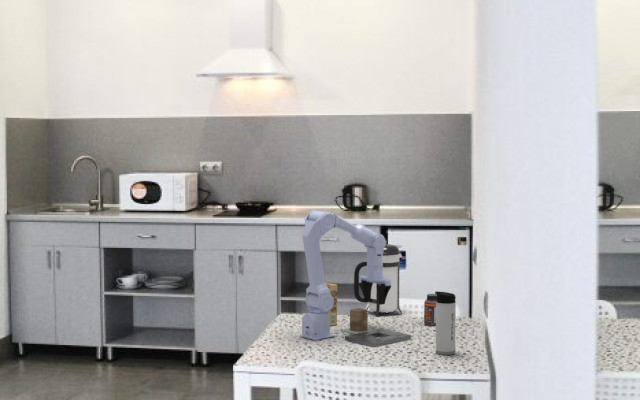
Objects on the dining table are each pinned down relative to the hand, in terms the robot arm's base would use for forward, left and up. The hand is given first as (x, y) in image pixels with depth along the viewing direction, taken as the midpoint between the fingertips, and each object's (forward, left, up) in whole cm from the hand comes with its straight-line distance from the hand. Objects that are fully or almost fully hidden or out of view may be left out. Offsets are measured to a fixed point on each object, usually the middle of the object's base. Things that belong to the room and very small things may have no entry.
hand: (374, 302), depth 330 cm
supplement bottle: (+21, -9, -10) cm, 25 cm away
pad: (-8, 0, -9) cm, 12 cm away
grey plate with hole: (-12, -14, -9) cm, 21 cm away
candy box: (-8, +18, -10) cm, 22 cm away
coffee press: (+21, +18, -10) cm, 29 cm away
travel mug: (-9, -42, -10) cm, 44 cm away
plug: (-8, 0, -9) cm, 12 cm away
